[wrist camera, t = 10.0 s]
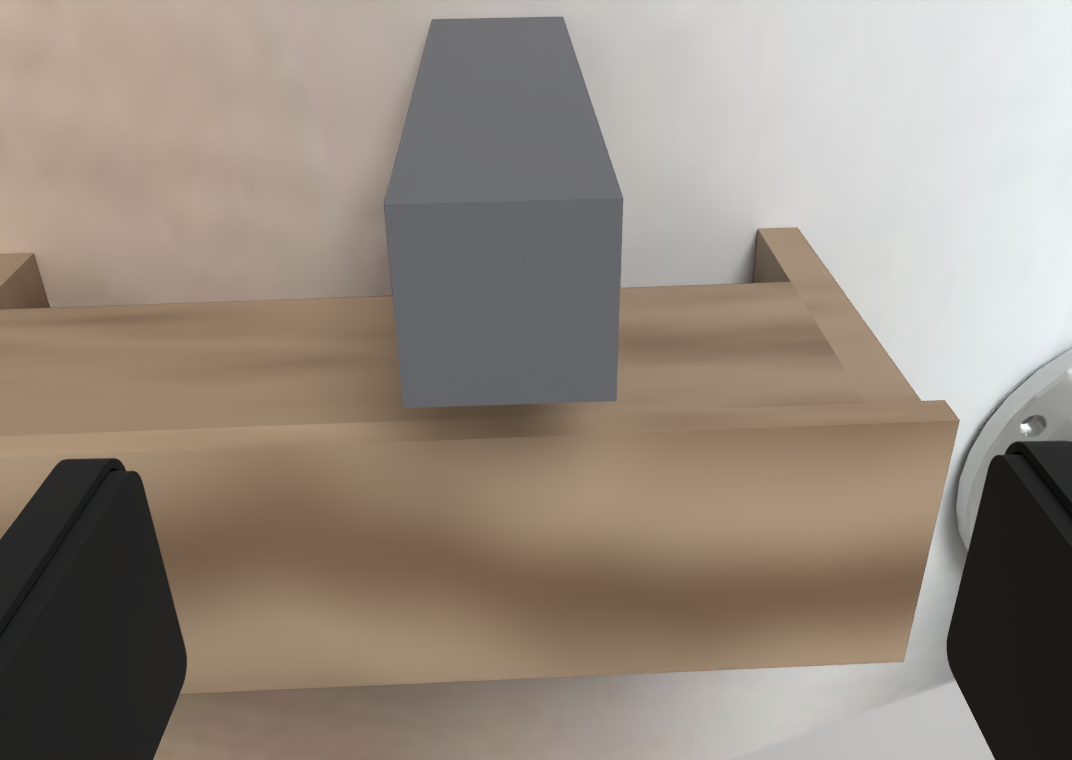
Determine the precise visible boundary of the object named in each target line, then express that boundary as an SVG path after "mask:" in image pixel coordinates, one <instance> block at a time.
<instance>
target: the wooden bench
mask: <svg viewBox="0 0 1072 760" xmlns="http://www.w3.org/2000/svg"><path fill="white" fill-rule="evenodd" d="M959 421H960V420H959V419H958V417H957V416H956V415H955V413H954V412H953V411H952V409H951V408H950V407H949V405H948V404H947V403H946V402H945V400H937V401H921V400H920V398H919V397H918V395H917V394H916V393H915V391H914V390H913V388H912V387H911V386H910V384H909V383H908V381H907V380H906V379H905V377H904V376H903V374H902V373H901V372H900V370H899V369H898V367H897V366H896V365H895V363H894V362H893V360H892V359H891V358H890V356H889V355H888V353H887V352H886V351H885V349H884V348H883V346H882V345H881V344H880V342H879V341H878V339H877V338H876V337H875V335H874V334H873V333H872V331H871V330H870V328H869V327H868V326H867V324H866V323H865V321H864V320H863V319H862V317H861V316H860V314H859V313H858V312H857V310H856V309H855V307H854V306H853V305H852V303H851V302H850V300H849V299H848V298H847V296H846V295H845V293H844V292H843V291H842V289H841V288H840V286H839V285H838V284H837V282H836V281H835V279H834V278H833V277H832V275H831V274H830V272H829V271H828V270H827V268H826V267H825V265H824V264H823V263H822V261H821V260H820V258H819V257H818V256H817V254H816V253H815V251H814V250H813V249H812V247H811V246H810V244H809V243H808V242H807V240H806V239H805V237H804V236H803V235H802V233H801V232H800V230H799V229H798V228H770V229H758V234H757V244H756V254H755V264H754V274H753V283H745V284H716V285H688V286H659V287H631V288H620V307H619V338H618V368H617V399H616V401H607V402H576V403H545V404H513V405H482V406H451V407H420V408H403V400H402V390H401V379H400V369H399V358H398V348H397V337H396V327H395V316H394V306H393V296H374V297H346V298H317V299H289V300H260V301H232V302H203V303H175V304H146V305H118V306H89V307H61V308H49V304H48V301H47V298H46V294H45V291H44V287H43V284H42V281H41V277H40V274H39V271H38V267H37V264H36V261H35V257H34V254H33V253H29V254H0V539H1V538H2V537H3V535H4V534H5V533H6V531H7V530H8V529H9V527H10V526H11V525H12V523H13V522H14V521H15V519H16V518H17V517H18V515H19V514H20V513H21V511H22V510H23V509H24V507H25V506H26V505H27V503H28V502H29V501H30V499H31V498H32V497H33V495H34V494H35V493H36V491H37V490H38V488H39V487H40V486H41V484H42V483H43V482H44V480H45V479H46V478H47V476H48V475H49V474H50V472H51V471H52V470H53V468H54V467H55V466H56V465H57V464H58V463H59V462H60V461H61V460H65V459H91V458H116V459H118V460H120V461H121V462H122V464H123V465H124V466H125V469H126V471H135V472H138V474H139V475H140V477H141V479H142V482H143V485H144V489H145V493H146V497H147V501H148V505H149V509H150V512H151V516H152V520H153V524H154V528H155V532H156V536H157V540H158V543H159V547H160V551H161V555H162V559H163V563H164V567H165V571H166V574H167V578H168V582H169V586H170V590H171V594H172V598H173V602H174V605H175V609H176V613H177V617H178V621H179V625H180V629H181V633H182V636H183V640H184V644H185V648H186V654H187V670H186V676H185V681H184V684H183V687H182V689H181V692H180V694H194V693H217V692H239V691H262V690H284V689H306V688H329V687H351V686H374V685H396V684H418V683H441V682H463V681H486V680H508V679H531V678H553V677H575V676H598V675H620V674H643V673H665V672H687V671H710V670H732V669H755V668H777V667H799V666H822V665H844V664H867V663H889V662H903V661H904V657H905V653H906V649H907V644H908V640H909V636H910V631H911V627H912V623H913V618H914V614H915V610H916V606H917V601H918V597H919V593H920V588H921V584H922V580H923V576H924V571H925V567H926V563H927V558H928V554H929V550H930V545H931V541H932V537H933V533H934V528H935V524H936V520H937V515H938V511H939V507H940V503H941V498H942V494H943V490H944V485H945V481H946V477H947V473H948V468H949V464H950V460H951V455H952V451H953V447H954V442H955V438H956V434H957V430H958V425H959Z"/></svg>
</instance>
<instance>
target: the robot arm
mask: <svg viewBox="0 0 1072 760" xmlns="http://www.w3.org/2000/svg"><path fill="white" fill-rule="evenodd" d="M956 512H957V520H958V528H959V533H960V536H961V538H962V541H963V543H964V545H965V548H966V550H967V553H968V554H967V558H966V562H965V566H964V570H963V574H962V579H961V583H960V587H959V591H958V595H957V599H956V603H955V608H954V612H953V616H952V620H951V624H950V628H949V632H948V637H947V656H948V661H949V665H950V668H951V671H952V673H953V676H954V678H955V680H956V682H957V684H958V686H959V688H960V690H961V692H962V694H963V696H964V697H965V700H966V701H967V704H968V706H969V708H970V709H971V712H972V714H973V716H974V718H975V720H976V722H977V724H978V726H979V728H980V730H981V732H982V734H983V736H984V738H985V740H986V742H987V744H988V746H989V748H990V750H991V752H992V754H993V756H994V758H995V760H1072V348H1071V349H1069V350H1068V351H1066V352H1065V353H1063V354H1062V355H1060V356H1059V357H1057V358H1056V359H1054V360H1053V361H1051V362H1050V363H1048V364H1047V365H1045V366H1044V367H1042V368H1041V369H1039V370H1038V371H1036V372H1035V373H1034V374H1033V375H1032V376H1031V377H1030V378H1029V379H1027V380H1026V381H1025V382H1024V383H1023V384H1022V385H1021V386H1020V387H1018V388H1017V389H1016V390H1015V391H1014V392H1013V393H1012V394H1011V395H1009V397H1008V398H1007V399H1006V400H1005V401H1004V402H1003V404H1002V405H1001V406H1000V407H999V408H998V410H997V411H996V412H995V413H994V414H993V416H992V417H991V418H990V419H989V420H988V422H987V423H986V424H985V426H984V428H983V429H982V431H981V433H980V435H979V436H978V438H977V440H976V441H975V443H974V445H973V447H972V448H971V450H970V452H969V454H968V457H967V460H966V463H965V466H964V468H963V471H962V474H961V477H960V480H959V487H958V495H957V503H956ZM186 670H187V654H186V648H185V644H184V640H183V636H182V633H181V629H180V625H179V621H178V617H177V613H176V609H175V605H174V602H173V598H172V594H171V590H170V586H169V582H168V578H167V574H166V571H165V567H164V563H163V559H162V555H161V551H160V547H159V543H158V540H157V536H156V532H155V528H154V524H153V520H152V516H151V512H150V509H149V505H148V501H147V497H146V493H145V489H144V485H143V482H142V479H141V477H140V475H139V474H138V472H135V471H126V469H125V466H124V465H123V464H122V462H121V461H120V460H118V459H116V458H91V459H65V460H61V461H60V462H59V463H58V464H57V465H56V466H55V467H54V468H53V470H52V471H51V472H50V474H49V475H48V476H47V478H46V479H45V480H44V482H43V483H42V484H41V486H40V487H39V488H38V490H37V491H36V493H35V494H34V495H33V497H32V498H31V499H30V501H29V502H28V503H27V505H26V506H25V507H24V509H23V510H22V511H21V513H20V514H19V515H18V517H17V518H16V519H15V521H14V522H13V523H12V525H11V526H10V527H9V529H8V530H7V531H6V533H5V534H4V535H3V537H2V538H1V539H0V760H153V758H154V756H155V753H156V751H157V748H158V746H159V743H160V741H161V738H162V736H163V733H164V731H165V729H166V726H167V724H168V721H169V719H170V716H171V714H172V711H173V709H174V706H175V704H176V702H177V699H178V697H179V694H180V692H181V689H182V687H183V684H184V681H185V676H186Z"/></svg>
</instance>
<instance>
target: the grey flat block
mask: <svg viewBox="0 0 1072 760" xmlns="http://www.w3.org/2000/svg"><path fill="white" fill-rule="evenodd" d="M384 211H385V222H386V232H387V243H388V253H389V264H390V274H391V285H392V295H393V306H394V316H395V327H396V337H397V348H398V358H399V369H400V379H401V390H402V400H403V408H420V407H451V406H482V405H513V404H545V403H576V402H607V401H616V399H617V368H618V338H619V307H620V276H621V246H622V215H623V197H622V193H621V190H620V187H619V184H618V181H617V178H616V175H615V172H614V169H613V166H612V163H611V160H610V157H609V154H608V151H607V148H606V145H605V142H604V139H603V136H602V133H601V130H600V127H599V124H598V121H597V118H596V115H595V112H594V109H593V106H592V103H591V100H590V97H589V94H588V91H587V88H586V85H585V82H584V79H583V76H582V73H581V70H580V67H579V64H578V61H577V58H576V55H575V52H574V49H573V46H572V43H571V40H570V37H569V34H568V31H567V28H566V25H565V22H564V19H563V17H527V18H480V19H433V20H432V22H431V26H430V30H429V34H428V37H427V41H426V45H425V49H424V53H423V57H422V60H421V64H420V68H419V72H418V76H417V80H416V83H415V87H414V91H413V95H412V99H411V103H410V106H409V110H408V114H407V118H406V122H405V126H404V129H403V133H402V137H401V141H400V145H399V148H398V152H397V156H396V160H395V164H394V168H393V171H392V175H391V179H390V183H389V187H388V191H387V194H386V198H385V202H384Z"/></svg>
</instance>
